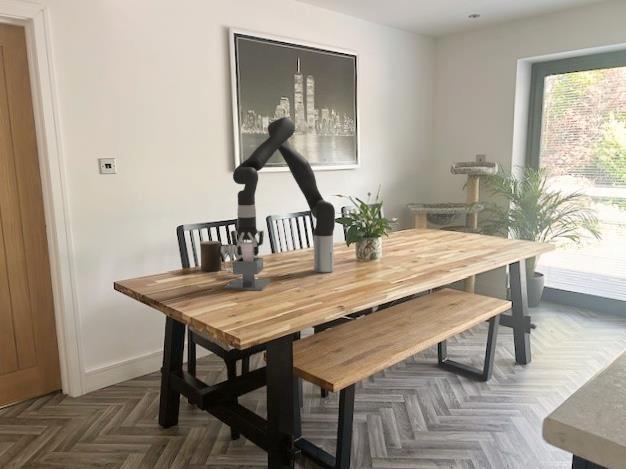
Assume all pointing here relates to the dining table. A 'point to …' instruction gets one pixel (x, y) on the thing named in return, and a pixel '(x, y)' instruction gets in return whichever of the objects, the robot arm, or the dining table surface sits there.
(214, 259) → the pillar candle
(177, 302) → the dining table surface
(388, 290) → the dining table surface
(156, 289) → the dining table surface
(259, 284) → the stand
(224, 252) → the goblet set
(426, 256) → the dining table surface
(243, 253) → the smoothie
